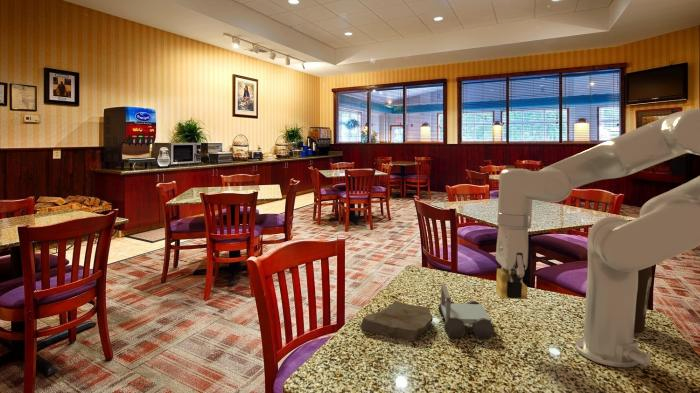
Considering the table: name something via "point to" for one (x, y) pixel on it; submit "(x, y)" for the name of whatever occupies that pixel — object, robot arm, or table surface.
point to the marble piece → (398, 321)
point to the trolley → (464, 317)
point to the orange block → (502, 285)
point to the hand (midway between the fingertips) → (510, 292)
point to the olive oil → (642, 298)
